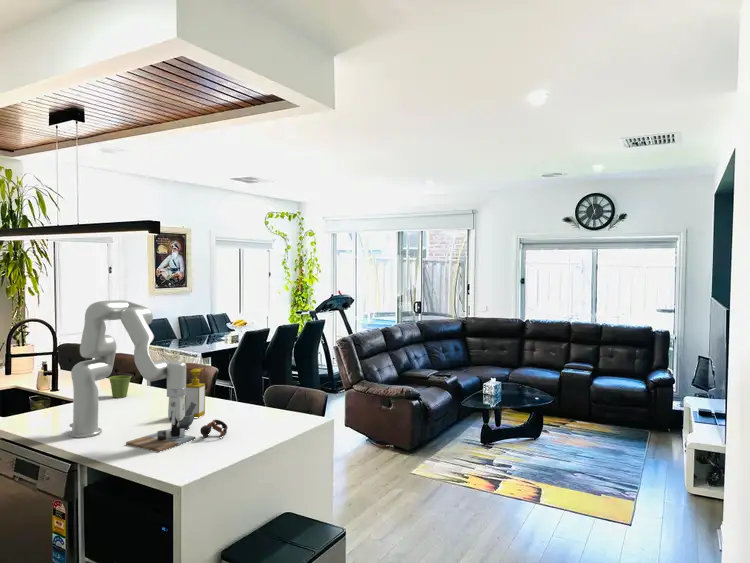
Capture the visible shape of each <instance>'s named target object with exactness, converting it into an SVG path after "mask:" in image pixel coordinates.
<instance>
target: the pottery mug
mask: <svg viewBox="0 0 750 563" xmlns="http://www.w3.org/2000/svg"><path fill="white" fill-rule="evenodd" d="M212 429H213V430H214V431H216V432H217V433H220V435H219V437H222V436H223V437H225V436H226V435H227V433H228V425H227V424H226V422H224V421H222V420H220V419H213V420H212V421H210V422H209V423H207V425H203V426H201V428H200V432H199V433H200V434H201V435H202V438H203V437H204V438H208V437H209V435H210V434H211V432H212ZM209 433H210V434H209ZM208 434H209V435H208Z"/></svg>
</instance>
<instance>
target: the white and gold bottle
mask: <svg viewBox="0 0 750 563" xmlns="http://www.w3.org/2000/svg"><path fill="white" fill-rule="evenodd" d="M202 370H203V368H193V369H191V370H189V373H191V375H192V376H193V379H191V382H190V383H188V384H186V396H184V397H185V412H186V411H187V409H188V408H189V406H190V405H191V402H195V403H196V404H197V405H196V406H195V408H194V410H193V412H192V413H194V417H198V418H197V419H200V418H201V417H200V416H202V415H203V416H205V415H204V414H206V383H201V382H200V378H198V376H199V375H200V372H202ZM203 416H202V417H203ZM199 417H200V418H199Z"/></svg>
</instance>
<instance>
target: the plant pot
mask: <svg viewBox="0 0 750 563" xmlns="http://www.w3.org/2000/svg"><path fill="white" fill-rule="evenodd" d="M131 378H132V376H131V375H113V376H110V377H109V376H108V380H109V383H110V388H111V394H112V398H114V399H115V398H116V399H123V398H125V397H127V396H128V391H129V386H130V382H131Z"/></svg>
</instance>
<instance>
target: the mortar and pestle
mask: <svg viewBox="0 0 750 563" xmlns="http://www.w3.org/2000/svg"><path fill="white" fill-rule="evenodd" d="M196 405H197V404H196V403H195V402H191V405H190V406H189V408H188V409H187V411H186V412H185V417H184V418H183V419H182V420H181V421H180V429H183V428H184V429H185V430H188V429H190V428H191V427H190V426H191V425H192V424H193V422H194V419H195V418H194V413H192V412H193V410H194V408H195V406H196ZM190 430H191V429H190ZM188 431H189V430H188Z"/></svg>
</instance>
